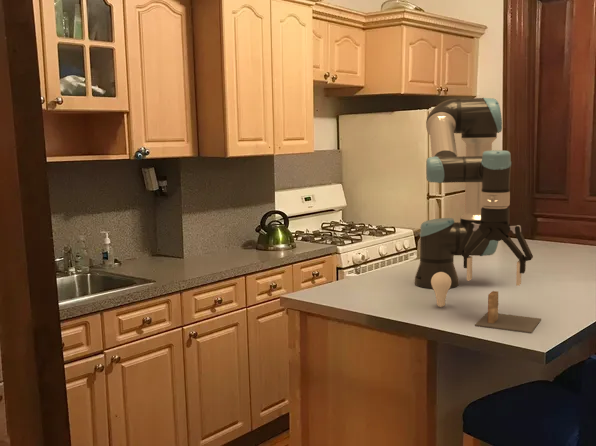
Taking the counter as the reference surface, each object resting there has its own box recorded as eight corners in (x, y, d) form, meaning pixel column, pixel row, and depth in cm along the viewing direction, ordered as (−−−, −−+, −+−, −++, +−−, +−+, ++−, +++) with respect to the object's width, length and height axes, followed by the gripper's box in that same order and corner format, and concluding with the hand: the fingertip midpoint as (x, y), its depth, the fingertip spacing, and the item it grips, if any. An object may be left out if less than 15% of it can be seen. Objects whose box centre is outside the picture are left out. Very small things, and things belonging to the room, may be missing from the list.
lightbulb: (448, 304, 200) (448, 269, 198) (453, 309, 194) (453, 274, 192) (428, 304, 199) (429, 270, 198) (433, 310, 193) (433, 274, 192)
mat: (474, 325, 176) (474, 324, 176) (487, 313, 188) (487, 312, 188) (531, 333, 169) (531, 331, 169) (541, 319, 181) (541, 318, 181)
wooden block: (487, 322, 178) (488, 294, 177) (492, 318, 182) (492, 290, 181) (493, 323, 177) (494, 295, 176) (497, 319, 181) (498, 291, 180)
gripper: (446, 206, 178) (445, 280, 182) (540, 210, 166) (537, 289, 169) (454, 203, 185) (453, 274, 188) (545, 207, 172) (542, 283, 176)
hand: (493, 282), depth 179 cm, fingers open, 13 cm apart
